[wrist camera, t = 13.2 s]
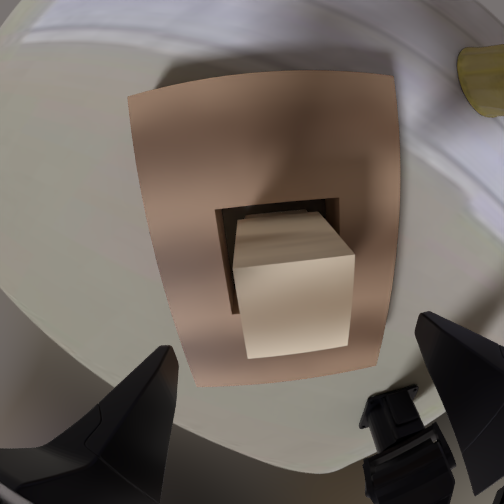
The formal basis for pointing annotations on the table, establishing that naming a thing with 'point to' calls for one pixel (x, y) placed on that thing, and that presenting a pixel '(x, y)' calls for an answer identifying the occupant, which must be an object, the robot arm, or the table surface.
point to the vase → (483, 78)
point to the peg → (292, 283)
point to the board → (268, 201)
